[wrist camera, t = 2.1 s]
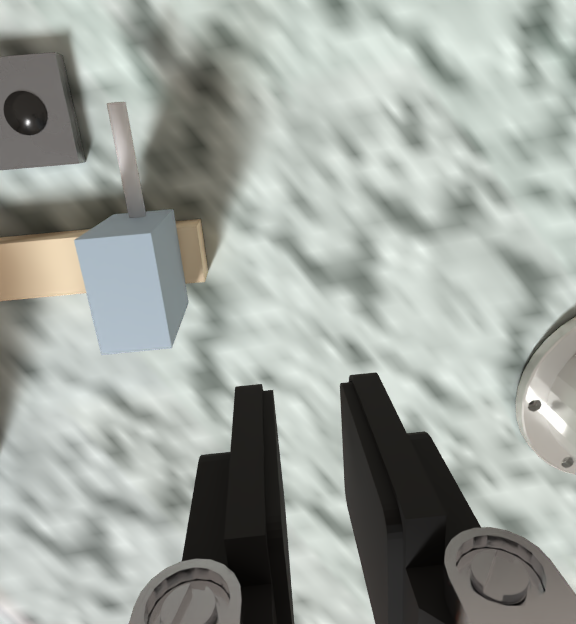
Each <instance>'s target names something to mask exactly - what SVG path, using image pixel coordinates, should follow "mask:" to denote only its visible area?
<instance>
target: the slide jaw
mask: <svg viewBox="0 0 576 624" xmlns="http://www.w3.org/2000/svg"><path fill="white" fill-rule="evenodd" d="M107 107H108V112H109V118H110V123H111V128H112V133H113V138H114V143H115V148H116V153H117V158H118V164H119V169H120V174H121V179H122V184H123V189H124V194H125V199H126V205H127V210H128V213H124V214H113V215H112V216H110V217H109V218H107V219H106V220H104V221H102V222H101V223H99V224H98V225H96V226H95V227H93V228H92V229H90V230H89V231H87V232H86V233H84V234H83V235H81V236H80V237H78V238H76V239H75V240H74V243H75V247H76V251H77V255H78V260H79V264H80V268H81V272H82V276H83V280H84V285H85V289H86V293H87V297H88V301H89V305H90V310H91V314H92V318H93V322H94V326H95V331H96V335H97V339H98V343H99V347H100V351H101V355H106V354H117V353H127V352H137V351H147V350H157V349H167V348H172V346H173V343H174V340H175V338H176V335H177V332H178V330H179V327H180V324H181V321H182V319H183V316H184V313H185V311H186V308H187V305H188V296H187V290H186V284H185V277H184V271H183V265H182V259H181V253H180V247H179V240H178V234H177V228H176V222H175V216H174V210H173V209H168V210H157V211H145V206H144V200H143V195H142V189H141V184H140V178H139V173H138V167H137V162H136V156H135V151H134V145H133V140H132V134H131V129H130V123H129V118H128V112H127V107H126V102H114V103H107Z"/></svg>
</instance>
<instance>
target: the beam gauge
mask: <svg viewBox="0 0 576 624" xmlns="http://www.w3.org/2000/svg"><path fill="white" fill-rule="evenodd" d="M175 222H176V228H177V234H178V240H179V247H180V253H181V259H182V265H183V271H184V277H185V284H187V283H197V282H205V280H206V277H207V273H208V267H207V260H206V253H205V246H204V239H203V232H202V225H201V219H196V220H185V221H175ZM89 230H90V229H86V230H75V231H64V232H53V233H42V234H31V235H20V236H9V237H0V301H7V300H18V299H28V298H39V297H49V296H60V295H71V294H81V293H86V289H85V285H84V280H83V276H82V272H81V268H80V264H79V260H78V255H77V251H76V247H75V243H74V240H75V239H76V238H78V237H80V236H81V235H83V234H84V233H86V232H87V231H89Z"/></svg>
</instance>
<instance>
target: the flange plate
mask: <svg viewBox="0 0 576 624" xmlns="http://www.w3.org/2000/svg"><path fill="white" fill-rule="evenodd" d="M83 162H86V161H85V156H84V152H83V147H82V142H81V138H80V133H79V129H78V124H77V120H76V115H75V110H74V106H73V101H72V97H71V92H70V87H69V83H68V78H67V74H66V69H65V65H64V60H63V55H61V54H58V53H55V52H52V53H40V54H27V55H15V56H3V57H0V170H9V169H20V168H32V167H43V166H55V165H66V164H78V163H83Z"/></svg>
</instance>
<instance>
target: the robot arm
mask: <svg viewBox="0 0 576 624" xmlns="http://www.w3.org/2000/svg"><path fill="white" fill-rule="evenodd" d="M340 397H341V418H342V439H343V460H344V481H345V495H346V501H347V507H348V511H349V515H350V519H351V523H352V528H353V532H354V536H355V540H356V544H357V548H358V553H359V557H360V561H361V565H362V569H363V573H364V578H365V582H366V586H367V590H368V594H369V598H370V603H371V607H372V611H373V615H374V619H375V623H376V624H576V594H575V593H574V591H573V590H572V589H571V587H570V586H569V585H568V583H567V582H566V580H565V579H564V578H563V576H562V575H561V574H560V572H559V571H558V570H557V568H556V567H555V565H554V564H553V563H552V561H551V560H550V559H549V558H548V557H547V556H546V555H545V554H544V553H543V551H542V550H541V549H540V548H539V547H537V546H536V545H534V544H533V543H531V542H530V541H528V540H527V539H525V538H524V537H522V536H519V535H517V534H514V533H512V532H510V531H507V530H502V529H497V528H492V527H483V528H481V526H480V525H479V523H478V521H477V519H476V517H475V516H474V514H473V512H472V510H471V508H470V507H469V505H468V503H467V501H466V500H465V498H464V496H463V494H462V492H461V491H460V489H459V487H458V485H457V483H456V482H455V480H454V478H453V476H452V474H451V473H450V471H449V469H448V467H447V465H446V464H445V462H444V460H443V458H442V456H441V455H440V453H439V451H438V449H437V447H436V446H435V444H434V442H433V440H432V438H431V437H430V436H429V434H428V433H427V432H416V433H406V431H405V429H404V427H403V425H402V423H401V421H400V419H399V417H398V415H397V412H396V410H395V408H394V406H393V404H392V402H391V400H390V398H389V396H388V394H387V392H386V390H385V388H384V386H383V384H382V382H381V380H380V378H379V375H378V374H377V373H367V374H357V375H350V377H349V382H347V383H341V384H340ZM515 405H516V419H517V422H518V426H519V429H520V432H521V434H522V435H523V437H524V439H525V440H526V442H527V444H528V445H529V446H530V447H531V448H532V449H533V451H534V452H535V453H536V454H537V455H538V456H539V457H540V458H541V459H542V460H544V461H545V462H546V463H547V464H549V465H550V466H552V467H554V468H556V469H558V470H560V471H563V472H567V473H571V474H575V475H576V317H574V318H573V319H571V320H570V321H568V322H567V323H565V324H564V325H562V326H561V327H559V328H558V329H557V330H556V331H555V332H554V333H553V334H552V335H550V336H549V337H548V338H547V339H546V340H545V341H544V342H543V344H542V345H541V346H540V347H539V348H538V350H537V351H536V352H535V353H534V354H533V356H532V358H531V359H530V361H529V363H528V365H527V366H526V368H525V370H524V372H523V375H522V377H521V380H520V383H519V386H518V390H517V396H516V403H515ZM129 624H294V615H293V602H292V589H291V576H290V564H289V551H288V538H287V525H286V512H285V501H284V491H283V481H282V472H281V462H280V452H279V443H278V433H277V423H276V414H275V404H274V395H273V390H268V391H263V387H262V384H258V385H248V386H238V387H235V399H234V412H233V426H232V439H231V452H225V453H216V454H206V455H201V456H200V458H199V462H198V468H197V474H196V480H195V486H194V492H193V498H192V504H191V510H190V516H189V522H188V528H187V534H186V540H185V546H184V552H183V558H182V562H179V563H177V564H174V565H172V566H170V567H168V568H166V569H164V570H163V571H162V572H160V573H159V574H158V575H156V576H155V577H154V578H152V579H151V580H150V582H149V583H148V584H147V585H146V586H145V588H144V589H143V590H142V591H141V593H140V595H139V597H138V599H137V601H136V603H135V606H134V608H133V611H132V615H131V618H130V621H129Z"/></svg>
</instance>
